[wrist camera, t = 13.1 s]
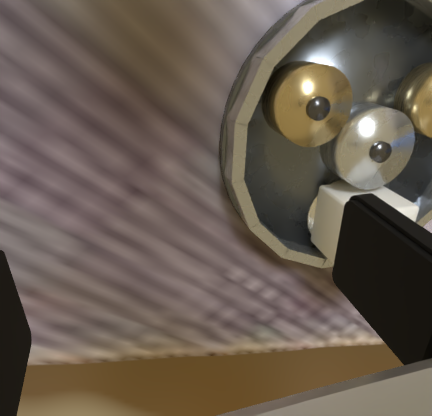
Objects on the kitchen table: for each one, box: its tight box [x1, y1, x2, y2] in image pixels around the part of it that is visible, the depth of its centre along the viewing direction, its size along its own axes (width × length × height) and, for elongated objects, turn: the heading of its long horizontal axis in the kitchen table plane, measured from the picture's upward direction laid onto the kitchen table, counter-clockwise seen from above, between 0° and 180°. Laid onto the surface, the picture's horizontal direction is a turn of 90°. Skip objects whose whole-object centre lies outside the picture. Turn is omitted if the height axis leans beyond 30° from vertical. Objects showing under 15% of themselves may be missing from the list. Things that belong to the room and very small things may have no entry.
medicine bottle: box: [311, 183, 419, 264], centre depth 37 cm, size 7×7×12 cm
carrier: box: [220, 0, 432, 268], centre depth 38 cm, size 29×29×6 cm
